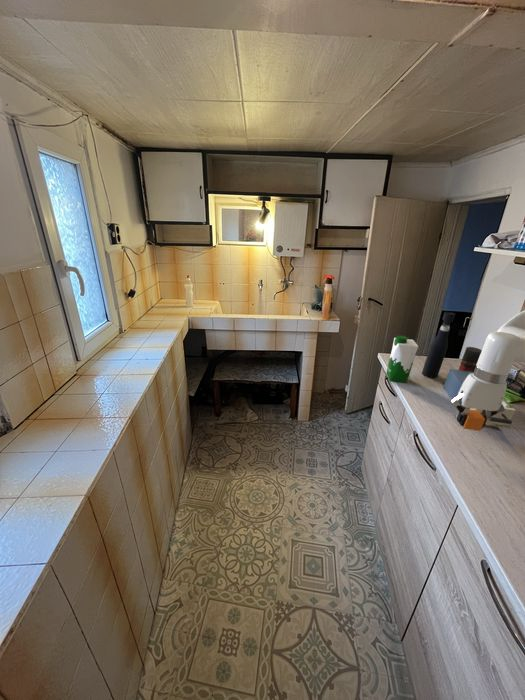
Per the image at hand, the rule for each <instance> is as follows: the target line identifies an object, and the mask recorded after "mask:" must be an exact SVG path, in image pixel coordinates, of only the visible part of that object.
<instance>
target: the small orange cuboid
mask: <svg viewBox="0 0 525 700" xmlns="http://www.w3.org/2000/svg"><path fill="white" fill-rule="evenodd" d="M466 416H467V418H466V421H465V423H464V426H462V428H463V429H465V430H470V431H478V432H480V431H481V430H482V429H483V428H482V426H483V423H484V421H485V418H484V417H483V416H482V414H481V413H480V412H479V410H472V409H470V410H469V411H468V412H467V414H466ZM483 427H484V426H483ZM481 428H482V429H481Z"/></svg>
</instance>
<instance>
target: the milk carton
mask: <svg viewBox="0 0 525 700" xmlns="http://www.w3.org/2000/svg"><path fill="white" fill-rule="evenodd" d="M419 346H420V345H418V344H417V342H415V340H414V339H409V338H408V337H407V336H406V335H402V334H398V335H397V336H396V337H394V338H393V343H392V348H391V352H390V356H389V359H388V365H387V369H386V373H385V374H386V376H387V379H388V380H389V382H393V383H394V382H395V383H402V384H407V383H408V380H409V378H410V374H411V371H412V368H413V364H414V361H415V358H416V354H417V351H418V349H419Z"/></svg>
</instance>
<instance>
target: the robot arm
mask: <svg viewBox="0 0 525 700" xmlns="http://www.w3.org/2000/svg"><path fill="white" fill-rule="evenodd" d="M481 350H482V351H481V354H480V357H479V359H478V362H477V364H476V367H475V370H474V372H473V373H470V374H469V375H468V376H467V378H466V379H465V381H464V382H463V384H462V386H461V388H460V390H459V392H458V395H457V397H455V398H454V399H451V400H450V403H451V405H452V406H453V407H455V409H456V410H457V411H458V414H457V417H456V421H457V422H458V424H459V426H460V427H463V426H464V423H465V421H466V418H467V416H466V414H467V412H468V411H469V410H470V408H473V409H480V410H482V413H481V414H482V416H483V417H484V418H485V421H484V423H483V426H482V428H481V430H482V429H483V428H484V426H485V425H486V424H485V423H486V421H487V419H490V418H491V416H493V415H495V414H497V413H500V412H503V411H505V409H504V407H503V405H502V402H503V400H504V399H505V396H506V392H507V387H508V382H507V379H509V378H513V375H514V374H513V373H512V372H510V371H511V370H512V367H513V365H514V363H515V362H517V363H524V364H525V309H524V310H522V311H520V312H519V313H517V314H515V315H514V316H512V317H511V318H510V319H508V321H506V322H505V323H504V324H503V325H501V326H500V327H499V328H498V329H497V330H496V331H492V332H490V333H488V334H487V336H486V338H485V341H484V344H483V346H482V349H481ZM460 401H462V404H461V405H460V404H458V403H459V402H460Z"/></svg>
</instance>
